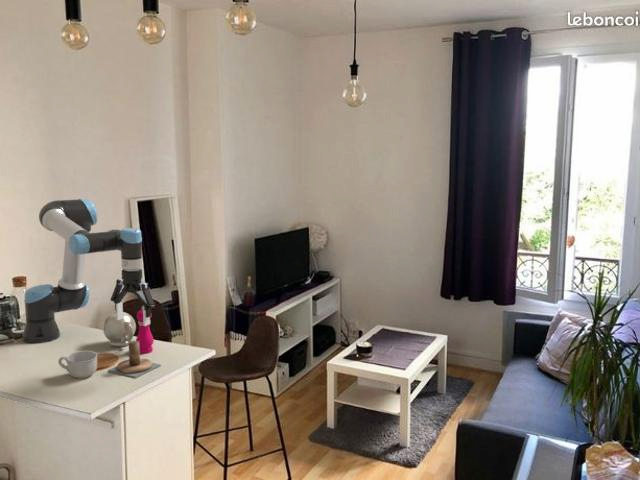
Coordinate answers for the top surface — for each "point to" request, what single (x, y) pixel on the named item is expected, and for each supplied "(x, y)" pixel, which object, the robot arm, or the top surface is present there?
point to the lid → (134, 361)
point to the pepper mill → (144, 335)
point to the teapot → (119, 329)
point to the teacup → (80, 363)
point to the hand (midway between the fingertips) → (133, 322)
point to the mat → (135, 373)
